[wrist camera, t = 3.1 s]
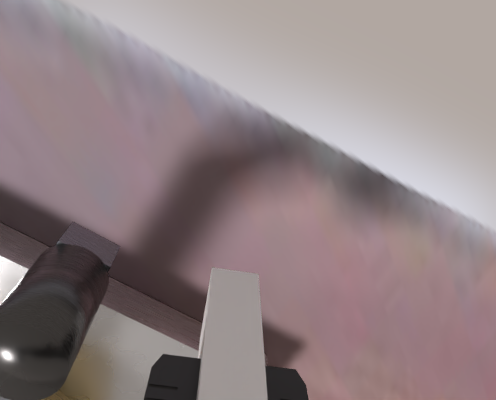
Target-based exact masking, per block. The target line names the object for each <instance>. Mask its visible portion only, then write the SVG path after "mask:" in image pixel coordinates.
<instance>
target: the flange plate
mask: <svg viewBox="0 0 496 400" xmlns="http://www.w3.org/2000/svg"><path fill="white" fill-rule="evenodd" d="M48 248H51V247H49V246H47V245H45V244H43V243H41V242H39V241H37V240H35V239H33V238H31V237H29V236H27V235H25V234H23V233H21V232H19V231H17V230H15V229H13V228H11V227H9V226H7V225H5V224H3V223H1V222H0V305H1V303H2V302H3V301H4V300H5V298H6V297H7V296H8V295H9V293H10V292H11V291H12V290H13V288H14V287H15V286H16V285H17V283H18V282H19V281H20V280H21V278H22V277H23V276H24V275H25V273H26V272H27V271H28V269H29V268H30V267H31V266H32V264H33V263H34V262H35V261H36V259H37V258H38V257H39V256H40V255H41V254H42V253H43V252H44V251H45V250H47V249H48ZM202 324H203V323H201V322H199V321H197V320H195V319H193V318H191V317H189V316H187V315H185V314H183V313H181V312H179V311H177V310H175V309H173V308H171V307H169V306H167V305H165V304H163V303H161V302H159V301H157V300H155V299H153V298H151V297H149V296H147V295H145V294H143V293H141V292H139V291H137V290H135V289H133V288H131V287H129V286H127V285H125V284H123V283H121V282H119V281H117V280H115V279H113V278H111V277H109V285H108V289H107V291H106V293H105V296H104V298H103V300H102V302H101V304H100V307H99V309H98V311H97V313H96V315H95V317H94V320H93V322H92V324H91V326H90V328H89V331H88V333H87V335H86V337H85V339H84V342H83V344H82V346H81V348H80V350H79V353H78V355H77V357H76V359H75V361H74V363H73V366H72V368H71V370H70V372H69V374H68V377H67V379H66V381H65V383H64V384H63V386H62V387H61V388H60V389H59V390H60V391H61V392H62V393H63V394H64V395H65V396H66V397H67V398H68V399H69V400H144V396H145V392H146V387H147V383H148V379H149V375H150V371H151V367H152V366H153V365H154V364H155V362H156V361H157V360H158V359H159V358H160V357H161V356H162V354H169V355H176V356H184V357H192V358H198V351H199V343H200V335H201V329H202ZM264 357H265V366H268V360H267V355H265V354H264Z"/></svg>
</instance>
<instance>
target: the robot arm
mask: <svg viewBox="0 0 496 400" xmlns="http://www.w3.org/2000/svg"><path fill="white" fill-rule="evenodd" d="M144 400H308V394H307V389H306V385H305V383H304V382H303V380H302V378H301V377H300V375H299V374H298V372H297V371H296V370H295V369H287V368H279V367H271V366H265V357H264V343H263V329H262V315H261V302H260V288H259V274H255V273H248V272H241V271H234V270H227V269H221V268H214V267H212V271H211V277H210V283H209V288H208V294H207V300H206V306H205V312H204V318H203V324H202V329H201V335H200V343H199V351H198V358H192V357H184V356H176V355H169V354H162V356H161V357H160V358H159V359H158V360H157V361H156V362H155V364H154V365H153V366H152V367H151V371H150V375H149V379H148V383H147V387H146V392H145V396H144Z"/></svg>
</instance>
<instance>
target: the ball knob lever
mask: <svg viewBox="0 0 496 400" xmlns="http://www.w3.org/2000/svg"><path fill="white" fill-rule="evenodd" d="M119 248H120V246H119V245H117V244H115V243H113V242H111V241H109V240H107V239H105V238H103V237H101V236H99V235H98V234H96V233H94V232H92V231H90V230H88V229H86V228H84V227H82V226H80V225H78V224H76V223H74V222H72V223H71V225H70V226H69V227H68V229H67V230H66V231H65V233H64V234H63V235H62V237H61V238H60V239H59V240H58V242H57V244H56V246H53V247H51V248H48V249H47V250H45V251H44V252H43V253H42V254H41V255H40V256H39V257H38V258H37V259H36V261H35V262H34V263H33V264H32V266H31V267H30V268H29V269H28V271H27V272H26V273H25V275H24V276H23V277H22V278H21V280H20V281H19V282H18V283H17V285H16V286H15V287H14V288H13V290H12V291H11V292H10V293H9V295H8V296H7V297H6V298H5V300H4V301H3V302H2V303H1V305H0V400H69V399H68V398H67V397H66V396H65V395H64V394H63V393H62V392H61V391H60V390H59V389H60V388H61V387H62V386H63V384H64V383H65V381H66V379H67V377H68V374H69V372H70V370H71V368H72V366H73V363H74V361H75V359H76V357H77V355H78V353H79V350H80V348H81V346H82V344H83V342H84V339H85V337H86V335H87V333H88V331H89V328H90V326H91V324H92V322H93V320H94V317H95V315H96V313H97V311H98V309H99V307H100V304H101V302H102V300H103V298H104V296H105V293H106V291H107V289H108V285H109V275H108V270H109V269H110V267H111V265H112V263H113V261H114V259H115V257H116V255H117V253H118V251H119Z"/></svg>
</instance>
